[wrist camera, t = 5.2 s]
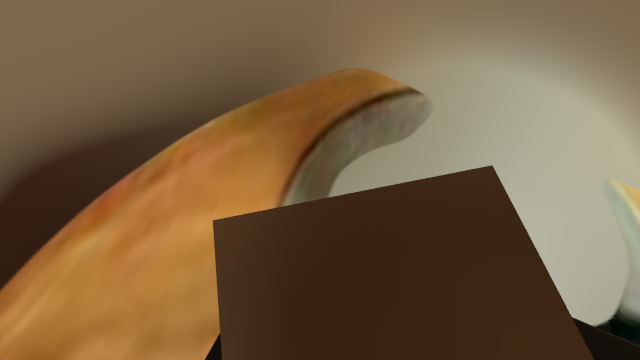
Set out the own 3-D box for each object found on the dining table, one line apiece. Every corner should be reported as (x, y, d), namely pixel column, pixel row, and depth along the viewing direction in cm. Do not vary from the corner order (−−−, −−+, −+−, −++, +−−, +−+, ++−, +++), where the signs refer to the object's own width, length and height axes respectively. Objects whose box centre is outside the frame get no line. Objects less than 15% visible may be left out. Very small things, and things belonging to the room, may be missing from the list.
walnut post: (364, 315, 13) (699, 559, 2) (295, 334, 13) (251, 811, 2) (346, 244, 15) (492, 165, 3) (283, 259, 14) (213, 221, 3)
